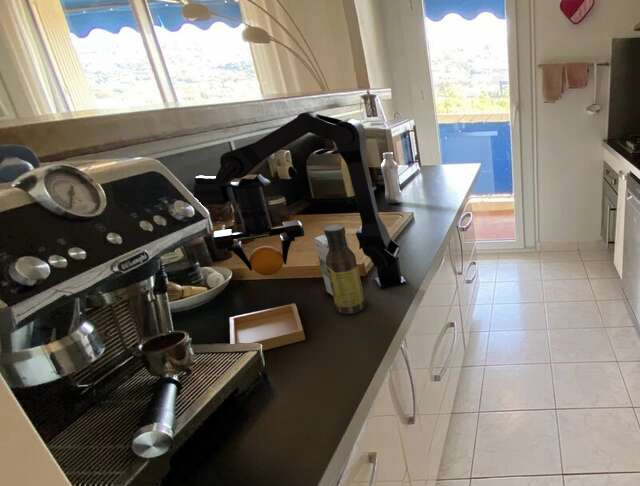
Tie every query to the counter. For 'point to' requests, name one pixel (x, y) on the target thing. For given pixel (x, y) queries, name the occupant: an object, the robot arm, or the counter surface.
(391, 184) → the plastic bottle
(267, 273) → the orange
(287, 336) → the tray
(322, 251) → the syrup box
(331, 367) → the counter surface
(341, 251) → the sauce bottle
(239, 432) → the counter surface
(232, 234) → the robot arm
